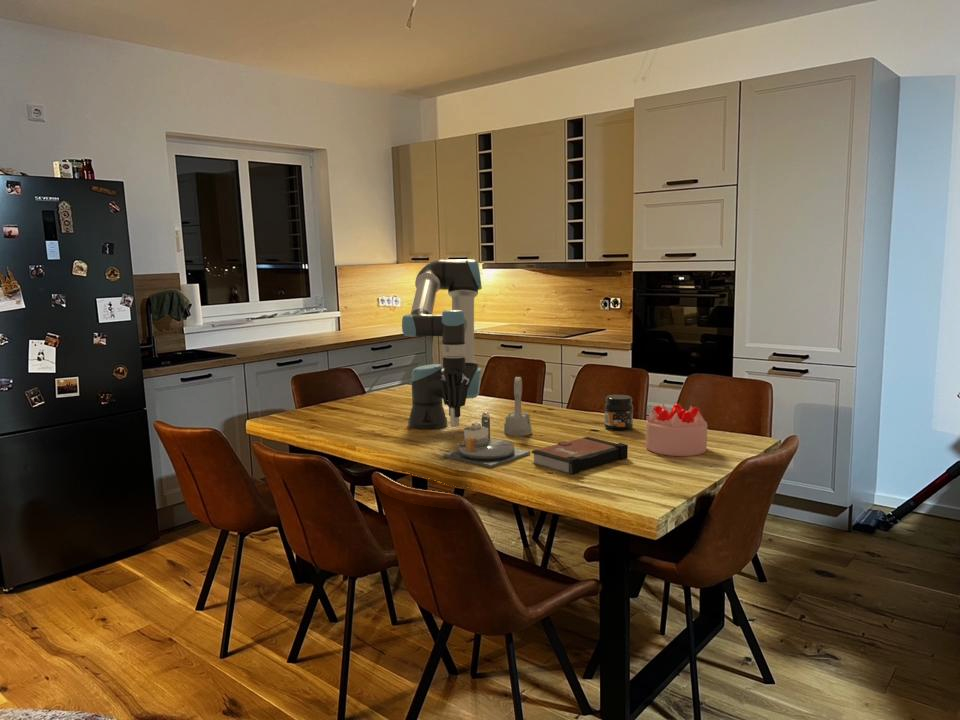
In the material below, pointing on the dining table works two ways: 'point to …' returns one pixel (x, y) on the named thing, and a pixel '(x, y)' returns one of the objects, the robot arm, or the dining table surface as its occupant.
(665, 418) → the cake
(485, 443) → the cover
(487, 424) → the stand
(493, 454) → the turntable
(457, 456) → the base plate
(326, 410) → the dining table surface
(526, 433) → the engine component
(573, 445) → the book
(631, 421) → the supplement container
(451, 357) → the robot arm
